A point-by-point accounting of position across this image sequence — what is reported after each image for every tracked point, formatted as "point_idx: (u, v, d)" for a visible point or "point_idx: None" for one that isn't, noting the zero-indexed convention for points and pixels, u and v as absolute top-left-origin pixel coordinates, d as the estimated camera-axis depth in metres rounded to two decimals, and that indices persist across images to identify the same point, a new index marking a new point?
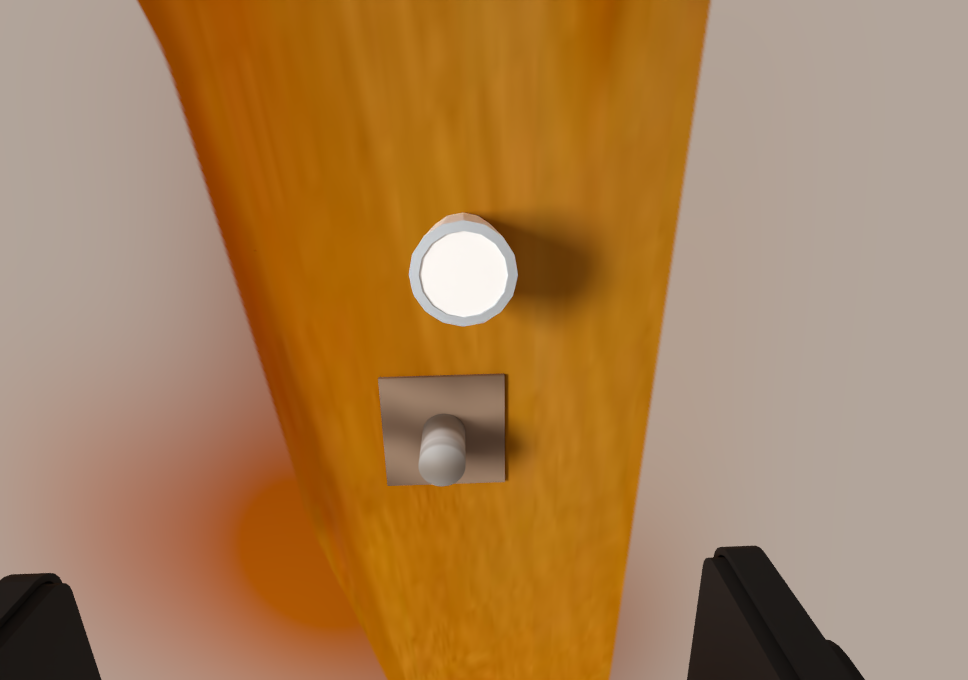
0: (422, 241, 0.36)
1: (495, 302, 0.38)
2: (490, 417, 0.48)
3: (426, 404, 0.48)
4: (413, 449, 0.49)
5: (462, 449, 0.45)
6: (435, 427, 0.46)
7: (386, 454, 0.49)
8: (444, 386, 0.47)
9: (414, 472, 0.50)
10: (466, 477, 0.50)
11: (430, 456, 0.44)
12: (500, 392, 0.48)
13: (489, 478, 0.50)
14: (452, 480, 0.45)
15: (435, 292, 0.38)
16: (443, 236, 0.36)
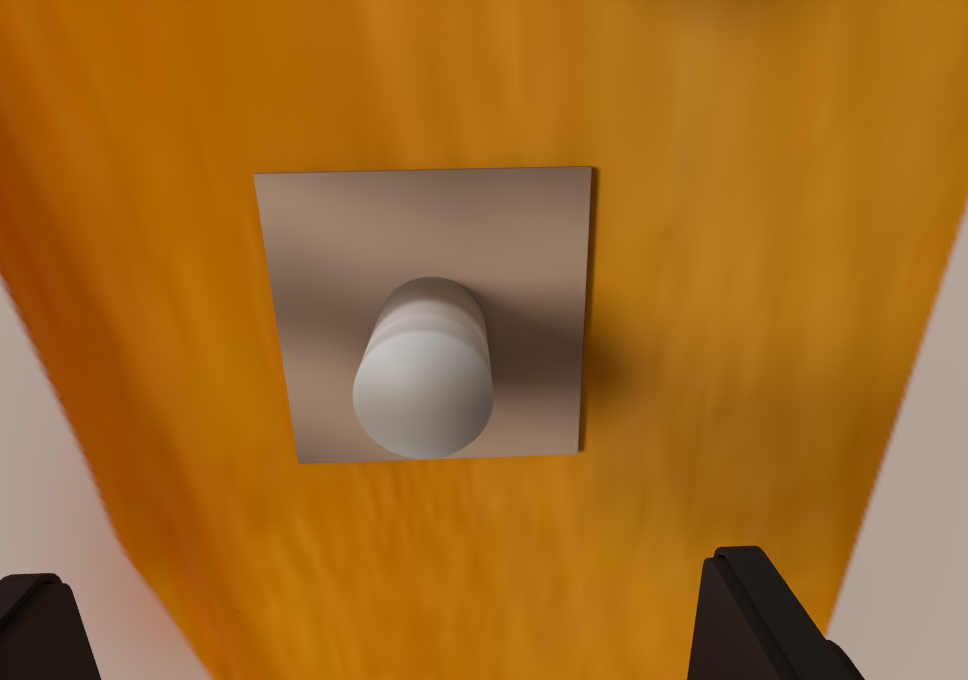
0: None
1: None
2: (550, 287, 0.19)
3: (386, 249, 0.18)
4: (356, 373, 0.20)
5: (483, 351, 0.15)
6: (406, 299, 0.17)
7: (290, 386, 0.20)
8: (432, 198, 0.18)
9: (362, 431, 0.21)
10: (487, 443, 0.21)
11: (387, 366, 0.14)
12: (578, 218, 0.18)
13: (541, 445, 0.21)
14: (454, 442, 0.15)
15: None
16: None
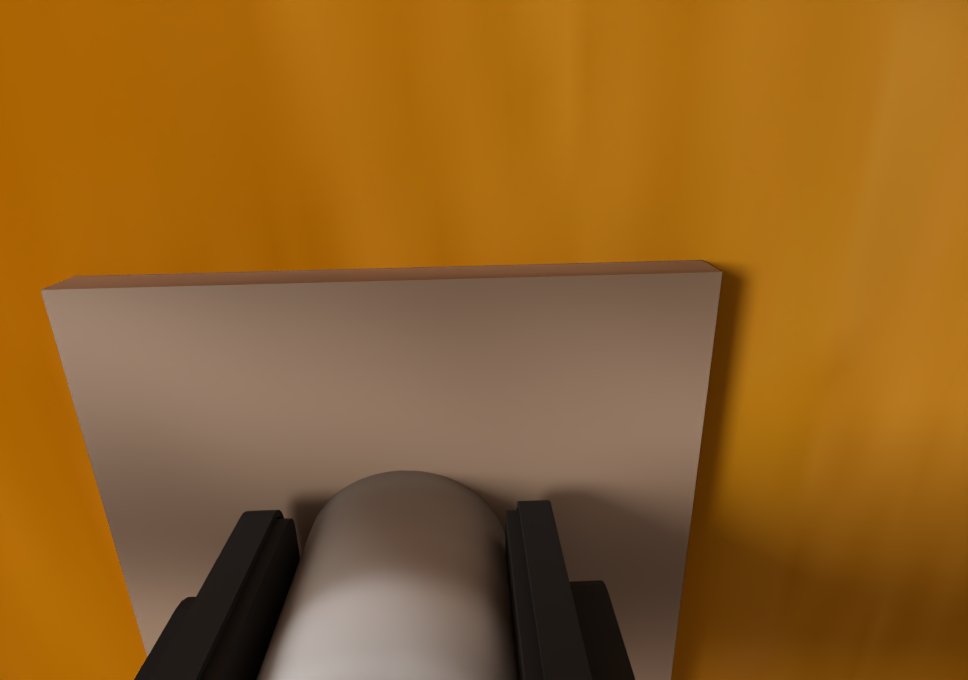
0: None
1: None
2: (630, 485, 0.10)
3: (317, 425, 0.10)
4: None
5: None
6: (345, 562, 0.08)
7: None
8: (404, 333, 0.09)
9: None
10: None
11: None
12: (688, 367, 0.09)
13: None
14: None
15: None
16: None
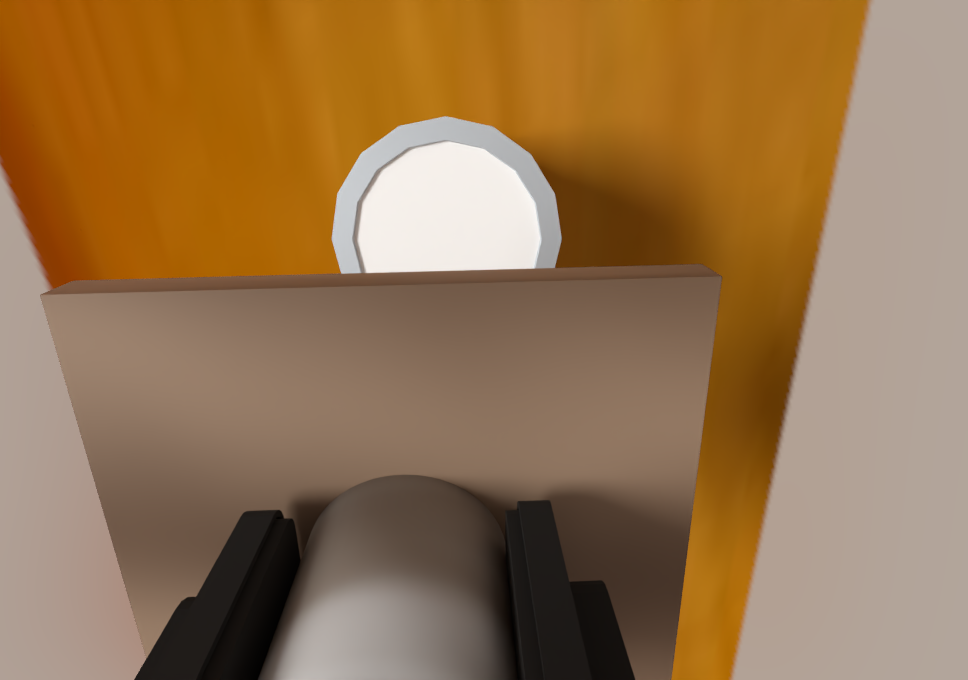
0: (358, 165, 0.17)
1: None
2: (630, 489, 0.10)
3: (317, 429, 0.10)
4: None
5: None
6: (344, 568, 0.08)
7: None
8: (403, 337, 0.09)
9: None
10: None
11: None
12: (689, 371, 0.09)
13: None
14: None
15: None
16: (402, 153, 0.17)
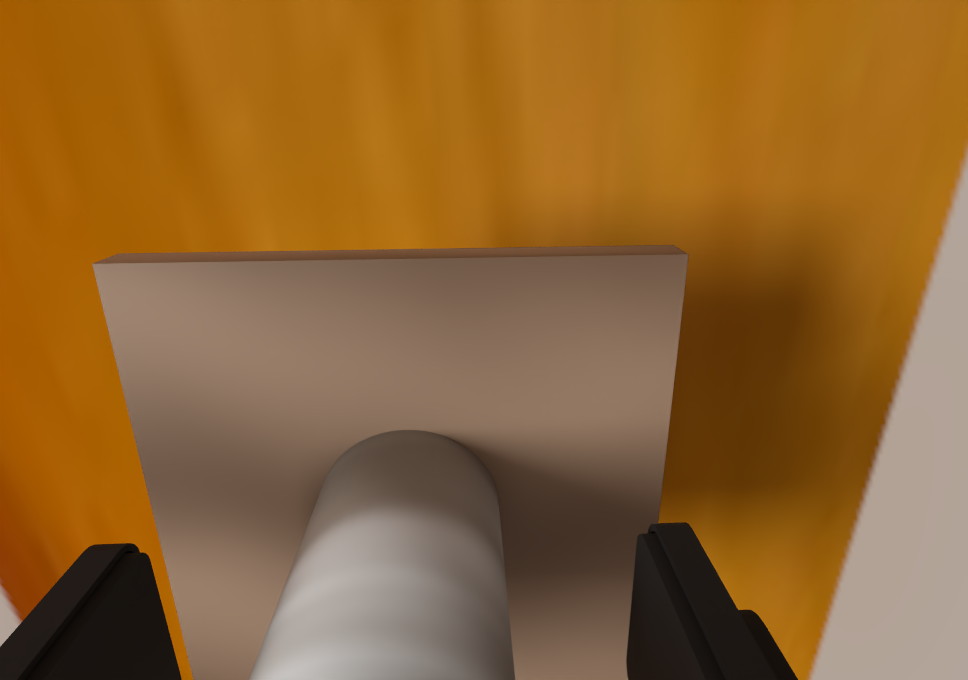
0: None
1: None
2: (608, 446, 0.11)
3: (331, 387, 0.11)
4: (287, 574, 0.12)
5: (500, 641, 0.08)
6: (357, 500, 0.09)
7: (178, 593, 0.12)
8: (409, 305, 0.10)
9: None
10: None
11: None
12: (659, 339, 0.11)
13: (582, 672, 0.13)
14: None
15: None
16: None
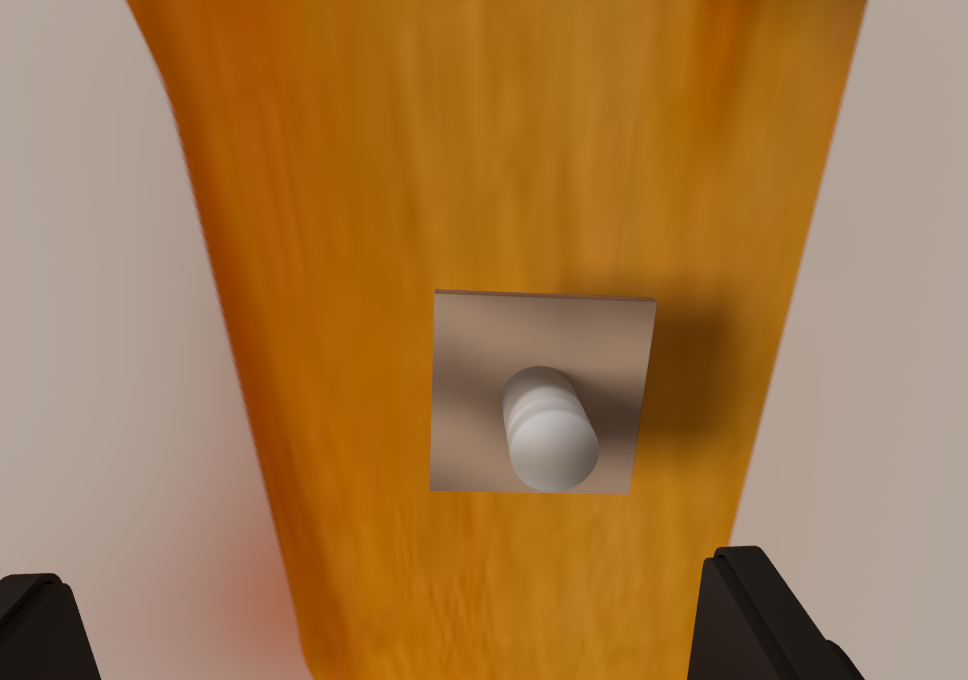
0: None
1: None
2: (622, 377, 0.28)
3: (514, 346, 0.27)
4: (481, 428, 0.28)
5: None
6: (534, 384, 0.25)
7: (433, 435, 0.28)
8: (550, 315, 0.27)
9: (479, 469, 0.29)
10: None
11: (535, 432, 0.23)
12: (645, 334, 0.27)
13: (603, 486, 0.30)
14: (570, 482, 0.24)
15: None
16: None
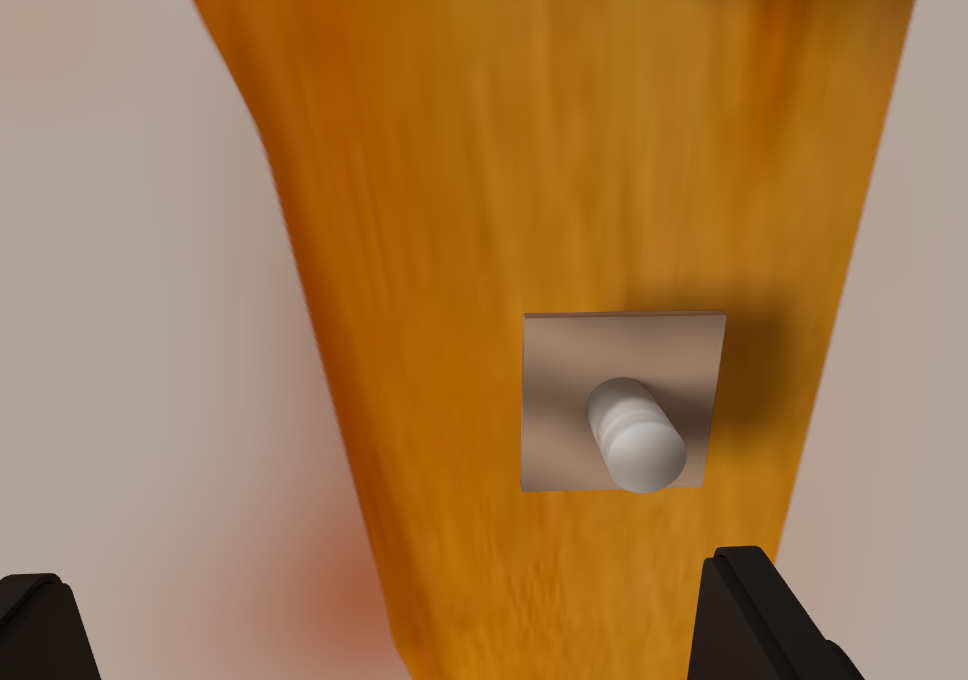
0: None
1: None
2: (695, 384, 0.30)
3: (597, 361, 0.30)
4: (568, 435, 0.31)
5: None
6: (620, 396, 0.28)
7: (524, 443, 0.31)
8: (629, 332, 0.29)
9: (565, 471, 0.32)
10: None
11: (630, 442, 0.26)
12: (715, 344, 0.30)
13: (678, 481, 0.33)
14: (660, 483, 0.27)
15: None
16: None
